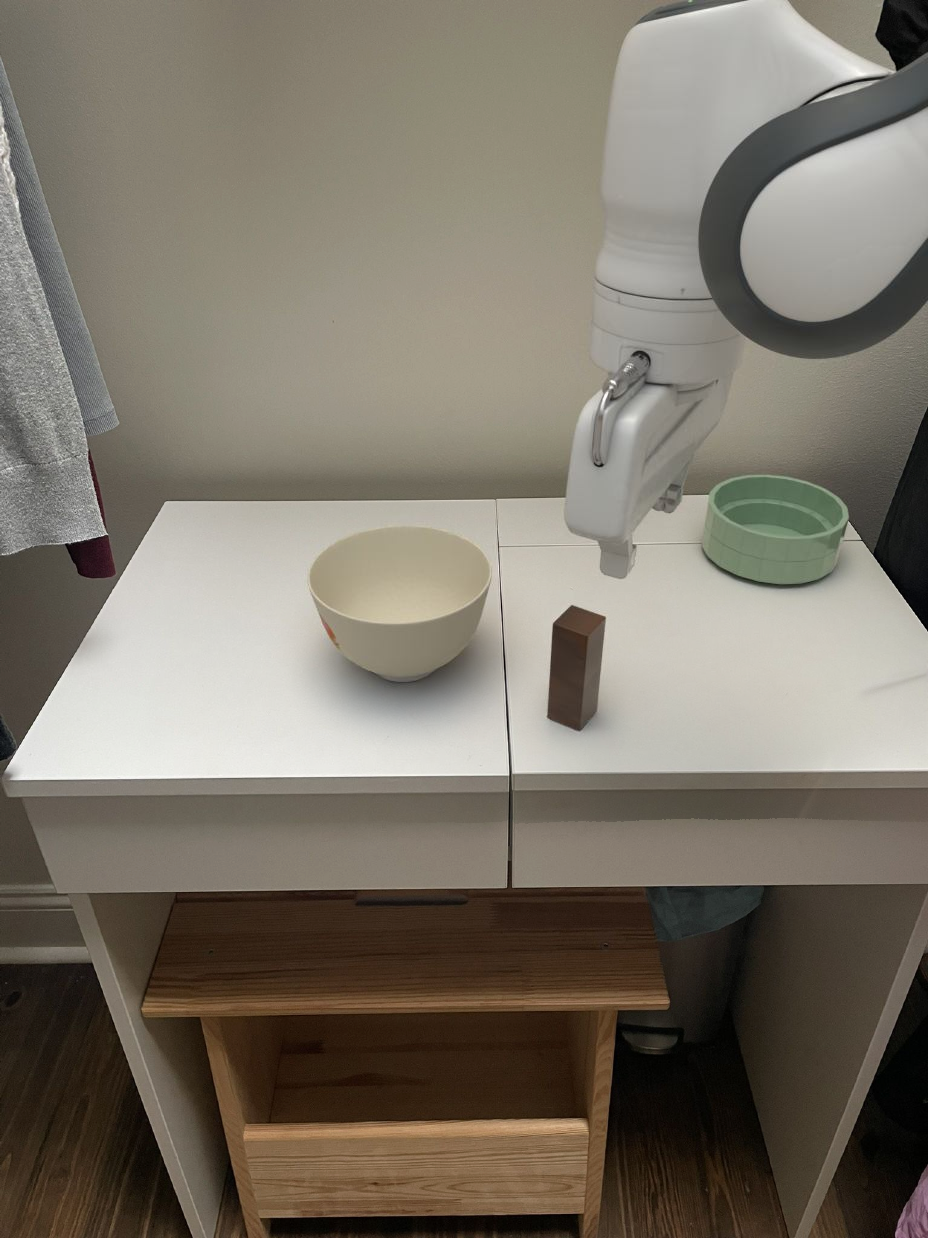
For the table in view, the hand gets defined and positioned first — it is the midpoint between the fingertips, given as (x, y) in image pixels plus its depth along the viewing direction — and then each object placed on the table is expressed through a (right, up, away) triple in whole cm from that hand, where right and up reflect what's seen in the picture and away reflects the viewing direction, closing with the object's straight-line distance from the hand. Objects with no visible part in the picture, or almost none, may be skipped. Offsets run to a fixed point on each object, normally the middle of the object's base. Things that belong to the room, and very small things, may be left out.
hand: (642, 538), depth 62 cm
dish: (+21, +2, +41) cm, 46 cm away
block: (-2, -14, +19) cm, 24 cm away
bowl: (-17, -9, +26) cm, 32 cm away
